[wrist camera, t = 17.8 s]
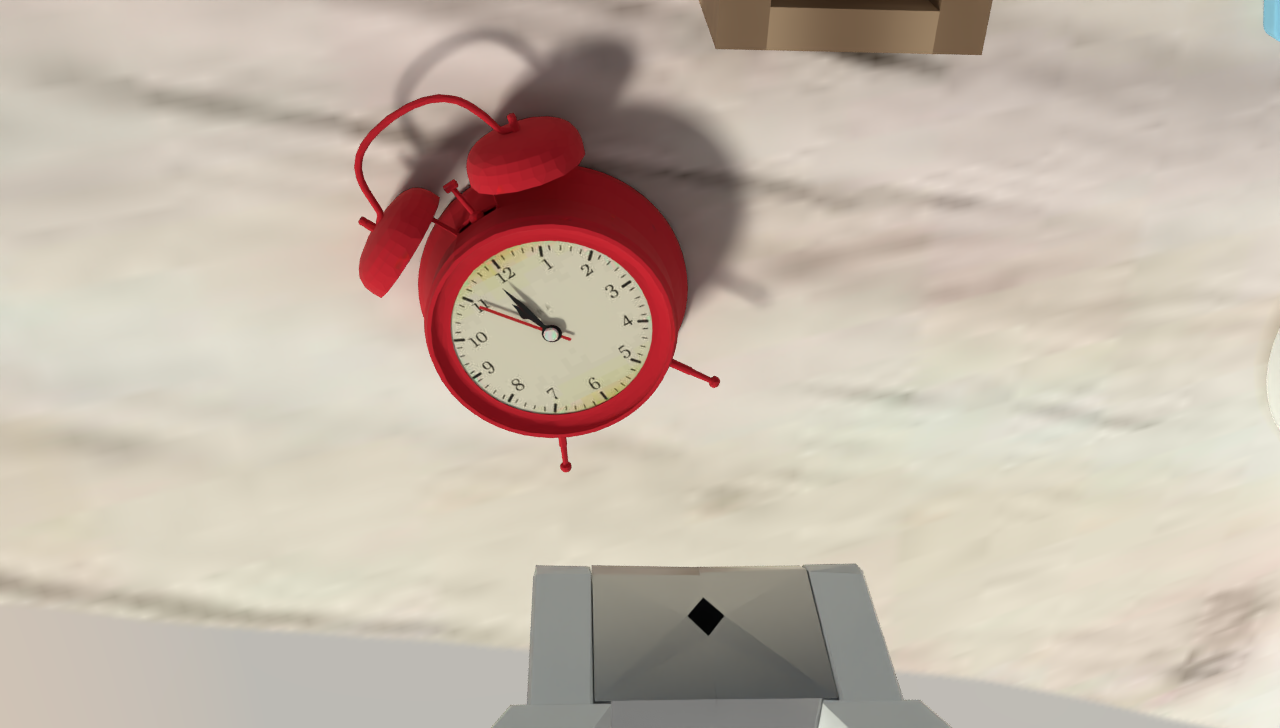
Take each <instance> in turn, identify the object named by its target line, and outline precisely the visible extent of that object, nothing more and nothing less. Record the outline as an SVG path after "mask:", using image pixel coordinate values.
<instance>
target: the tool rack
mask: <svg viewBox="0 0 1280 728" xmlns="http://www.w3.org/2000/svg"><path fill="white" fill-rule="evenodd" d="M699 2H700V5H701V8H702V11H703V14H704V16H705V19H706V22H707V25H708V28H709V31H710V34H711V36H712V39H713V42H714V45H715V48H716V49H743V50H787V51H830V52H874V53H917V54H961V55H982V50H983V45H984V40H985V35H986V30H987V25H988V20H989V15H990V10H991V5H992V0H699Z"/></svg>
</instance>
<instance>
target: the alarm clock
mask: <svg viewBox="0 0 1280 728" xmlns="http://www.w3.org/2000/svg"><path fill="white" fill-rule="evenodd" d="M438 102H447V103H453V104H457V105H459V106H462V107H464V108H466V109H468V110H469V111H471V112H472V113H474V114H475V115H477V116H478V117H480V118H481V119H482V120H483V121H485V122H486V123H487V124H488V125H489V126H491V127H492V128H493V129H494V130H492V131H491V132H489V133H488V134H486V135H485V136H483V137H482V138H481V139H480V140H479V141H477V142H476V143H475V145H474V146H473V147H472V149H471V150H470V152H469V154H468V159H467V166H466V168H467V174H468V178H469V181H470V185H471V187H470V188H469V189H467V190H466V191H465V192H463V193H462V194H461V193H460V192H459V191H458V190H457V189H456V188H457V187H458V183H457V181H455V180H454V179H453V180H452V181H450V182H449V183H447V184H446V185H444V186H443V189H444V190H445V192H446V193H450V192H451V191H452V193H453V194H454V195H455V196H456V197H457V198H456V199H455V200H454V201H453V202H452V203H450V204H449V206H448V207H447V208H446V209H445V211H444V212H443V213H442V215H441V216H440V218H439V219H438V220H437V219H435V218H434V214H435V212H436V210H437V207H438V204H439V199H440V197H438V196H437V195H435V194H434V193H432V192H430V191H428V190H425V189H423V188H411V189H409V190H406V191H404V192H403V193H401V194H400V195H399V196H397V197H396V199H395V200H394V201H393V202H392V203H391V204H390V205H389V206H388V207H387V208H386V210H385V211H384V212H383V210H382V208H381V207H380V205H379V204H378V202H377V201H376V199H375V197H374V196H373V194H372V193H371V191H370V190H369V188H368V186H367V184H366V182H365V180H364V176H363V172H362V161H363V156H364V153H365V151H366V150H367V148H368V146H369V145H370V143H371V142H372V141H373V139H374V138H375V137H376V136H377V135H378V134H379V133H380V132H381V131H382V130H383V129H384V128H386V127H387V126H388V125H389V124H390V123H392V122H393V121H394V120H396V119H397V118H399V117H400V116H402V115H404V114H405V113H407V112H409V111H411V110H413V109H415V108H417V107H420V106H423V105H426V104H430V103H438ZM507 119H508V122H509V124H506V125H504V126H499V125H498V124H497V123H496V122H495V121H494V120H493V119H492V118H491V117H490V116H489V115H488V114H487V113H485V112H484V111H483V110H481V109H480V108H478V107H477V106H476V105H474V104H473V103H471V102H469V101H467V100H465V99H463V98H461V97H457V96H452V95H441V94H437V95H432V96H427V97H422V98H420V99H417V100H415V101H412V102H410V103H408V104H406V105H404V106H402V107H401V108H399V109H398V110H396V111H394V112H393V113H391V114H389V115H388V116H386V117H385V118H384V119H383V120H382V121H381V122H380V123H379V124H378V125H377V126H375V127H374V128H373V129H372V130H371V131H370V132H369V133H368V135H367V136H366V137H365V139H364V140H363V141H362V143H361V144H360V146H359V149H358V151H357V153H356V157H355V165H354V169H355V174H356V179H357V181H358V184H359V186H360V188H361V190H362V192H363V193H364V195H365V196H366V198H367V199H368V201H369V202H370V204H371V205H372V207H373V208H374V210H375V211H376V213H377V220H376V224H375V223H373V222H371V221H370V220H367V219H366V218H365V217H361V218H360V220H359V221H358V222H359V224H360V225H362V226H364V227H365V228H366V229H368V230H370V231H371V233H370V235H369V237H368V239H367V242H366V244H365V247H364V249H363V252H362V255H361V258H360V264H359V275H360V279H361V281H362V283H363V284H364V286H365V287H366V288H367V289H368V290H369V291H371V292H372V293H373V294H375V295H377V296H379V297H380V298H382V297H383V296H384V295H385V294H386V293H387V292H388V291H389V289H390V288H391V287H392V286H393V284H394V283H395V282H396V280H397V279H398V277H399V276H400V274H401V273H402V271H403V270H404V268H405V267H406V265H407V264H408V262H409V261H410V259H411V258H412V256H413V254H414V253H415V251H416V249H417V248H418V246H419V244H420V242H421V241H422V239H423V237H424V235H425V233H426V231H427V229H428V227H429V225H430V224H431V222H433V223H435V225H434V227H433V229H432V231H431V233H430V235H429V237H428V239H427V242H426V245H425V248H424V251H423V254H422V258H421V263H420V268H419V278H418V290H419V300H420V306H421V310H422V314H423V317H424V329H425V337H426V343H427V347H428V350H429V354H430V357H431V359H432V361H433V364H434V366H435V369H436V371H437V373H438V374H439V376H440V378H441V380H442V382H443V383H444V384H445V386H446V387H447V388H448V390H449V391H450V392H451V394H452V395H453V396H454V397H455V398H456V399H457V400H458V401H459V402H460V403H461V404H462V405H463V406H465V407H466V408H467V409H468V410H470V411H471V412H472V413H474V414H475V415H477V416H478V417H480V418H481V419H483V420H485V421H487V422H489V423H491V424H493V425H495V426H497V427H500V428H502V429H505V430H508V431H511V432H515V433H518V434H522V435H527V436H534V437H545V438H559V446H560V447H561V453H562V459H563V463H562V464H561V465H560V468H561V470H562V471H563V472H569V471H570V470H571V468H572V467H571V463H570V462H568V456H567V440H566V437H572V436H579V435H584V434H588V433H592V432H595V431H598V430H601V429H603V428H606V427H609V426H611V425H613V424H615V423H617V422H619V421H621V420H622V419H624V418H625V417H627V416H629V415H630V414H631V413H633V412H634V411H635V410H637V409H638V408H639V407H640V406H641V405H642V404H643V403H645V402H646V401H647V400H648V399H649V397H650V396H651V395H652V394H653V393H654V391H655V390H656V389H657V387H658V386H659V384H660V383H661V381H662V380H663V378H664V376H665V374H666V372H667V370H668V368H669V366H670V367H672V368H675V369H677V370H679V371H682V372H684V373H686V374H688V375H692V376H695V377H697V378H699V379H702V380H704V381H706V382H709V385H710V386H711V387H713V388H715V387H718V385H719V383H720V380H719V378H718V377H716V376H713V377H711V378H710V377H708V376H706V375H704V374H702V373H700V372H698V371H696V370H694V369H692V367H689V366H687V365H685V364H683V363H681V362H678V361H676V360H674V359H672V358H673V356H674V353H675V349H676V344H677V337H678V331H679V329H680V326H681V324H682V320H683V317H684V314H685V309H686V303H687V291H688V284H687V273H686V267H685V262H684V258H683V254H682V251H681V248H680V245H679V242H678V240H677V238H676V236H675V234H674V232H673V230H672V229H671V227H670V225H669V224H668V222H667V221H666V219H665V218H664V217H663V215H662V214H661V213H660V212H659V211H658V210H657V208H656V207H655V206H654V205H653V204H652V203H651V202H650V201H649V200H648V199H646V198H645V197H644V196H643V195H641V194H640V193H639V192H637V191H636V190H635V189H634V188H632V187H630V186H629V185H627V184H625V183H624V182H622V181H620V180H618V179H616V178H614V177H612V176H610V175H607V174H605V173H602V172H599V171H596V170H593V169H589V168H584V167H580V166H578V165H579V163H580V162H581V160H582V159H583V157H584V155H585V150H584V145H583V142H582V138H581V136H580V134H579V132H578V130H577V129H576V128H575V127H574V126H573V125H572V124H571V123H570V122H568V121H566V120H564V119H561V118H557V117H550V116H543V117H531V118H526V119H522V120H518V121H517V119H516V116H515V114H514V113H510V114H508V115H507Z"/></svg>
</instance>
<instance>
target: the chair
mask: <svg viewBox="0 0 1280 728" xmlns="http://www.w3.org/2000/svg"><path fill="white" fill-rule="evenodd" d="M1263 25H1264V30H1265V31H1266V33H1267V34H1268V35H1270V36H1271V37H1273V38H1274V39H1276V40H1277V41H1280V0H1264V20H1263Z"/></svg>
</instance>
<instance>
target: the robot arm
mask: <svg viewBox="0 0 1280 728" xmlns="http://www.w3.org/2000/svg"><path fill="white" fill-rule="evenodd" d="M1266 388H1267V398H1268V403H1269V407H1270V411H1271V414H1272V417H1273V419H1274V421H1275V423H1276V425H1277V427H1278V429H1279V430H1280V328H1279V330H1278V333H1277V335H1276V338H1275V341H1274V343H1273V346H1272V350H1271V354H1270V357H1269V363H1268V368H1267V385H1266ZM491 728H952V727H951V726H950V725H949V724H948V723H946V722H945V721H944V720H943V719H942V718H940V717H939V716H938V715H937V714H936V713H935V712H934V711H932V710H931V709H930V708H929V707H928V706H927V705H925V704H924V703H923V702H922V701H921V700H904V699H903V696H902V693H901V689H900V686H899V683H898V680H897V677H896V674H895V671H894V667H893V664H892V661H891V658H890V655H889V652H888V649H887V645H886V642H885V639H884V636H883V633H882V630H881V627H880V623H879V620H878V617H877V614H876V611H875V608H874V605H873V602H872V598H871V595H870V592H869V589H868V586H867V583H866V580H865V576H864V573H863V571H862V570H861V569H860V568H859V567H858V565H857V564H817V565H803V566H802V567H801V566H799V565H797V566H725V567H657V566H601V565H592V571H590V567H586V566H542V565H536V569H535V573H534V576H533V592H532V612H531V632H530V652H529V673H528V692H527V705H510V706H509V707H508V708H507V710H506V711H505V712H504V713H503V714H502V715H501V717H500V718H499V719H498V720H497V721H496V722H495V724H494V725H493V726H492V727H491Z"/></svg>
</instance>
